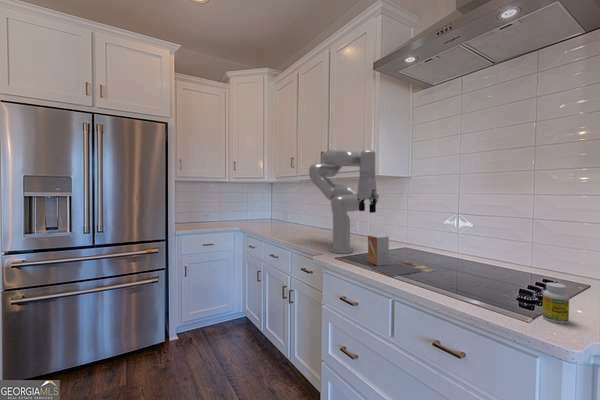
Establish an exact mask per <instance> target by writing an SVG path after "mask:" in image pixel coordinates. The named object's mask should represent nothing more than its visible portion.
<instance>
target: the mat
mask: <svg viewBox="0 0 600 400" xmlns="http://www.w3.org/2000/svg"><path fill="white" fill-rule="evenodd" d="M369 268H370V269H371V268H372V269H371V270H373V269H374V270H373V271H376V270H377V271H376V272H378V271H379V272H378V273H380V272H381V274H384V275H385V276H388V277H391V278H392V277H396V276H395V275H399V276H403V275H404V274H405V275H410V274H411V275H412V274H419V273H421V272H422V271H420V270H417V269H414V267H411V266H407V265H405V264H402V263H401V264H400V263H391V264H390V263H389V265H380V266H377V265H375V266H369Z"/></svg>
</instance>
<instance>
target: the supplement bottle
mask: <svg viewBox="0 0 600 400" xmlns="http://www.w3.org/2000/svg"><path fill="white" fill-rule="evenodd" d="M545 288H546V290H544V291H543V292H542V318H543V319H544V320H546V321H548V322H551V323H556V324H561V325H563V324H565V325H566V324H567V323H569V316H570V314H569V313H570V296H569V294H567V293H566V291H567V287H566V285H565V284H561V283H557V282H546V284H545Z"/></svg>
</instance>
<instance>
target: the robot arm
mask: <svg viewBox="0 0 600 400" xmlns="http://www.w3.org/2000/svg"><path fill="white" fill-rule="evenodd" d="M321 161H322V162H318V163H316V162H315V163H314V164H311V165H310V167H309V170H308V173H309V179H310V180H311V182H312V183H313V184H314V186H316V188H317V189H319V191H320V192H321V193H322V194H323V195H324V197H325V198H326V199H327V200H329V201H330V207H331V211H332V212H331V213H332V242H331V245H332V247H331V248H329V251H330V252H331V253H333V254H340V255H341V254H343V255H345V254H350V253H353V252H354V249H353V248H352V247H351V218H350V216H349V214H348V213H349V212H357V211H359V212H365V210H366V203H365V201H366V200H368V201H369V213H376V212H377V209H376V208H377V207H376V205H377V202H378V201H379V197H380V196H379V194H378V193H377V190H378V189H377V181H376V151H374V150H362V151H350V150H349V151H347V150H346V151H345V150H344V151H343V150H331V149H330V150H329V149H328V150H326V151H324V152H322V155H321ZM342 167H354V168H357V167H359V179H358V182H357V183H358V184H357V191H356V192H355V191H354V190H353V188H351V187H350V186H349V185H346V184H336V183H334V182H333V181H332V180H331V179H330V178H333V177H336V175H337V174H338V173H339V172H340V170H341V169H342Z"/></svg>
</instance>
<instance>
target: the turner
mask: <svg viewBox="0 0 600 400" xmlns="http://www.w3.org/2000/svg"><path fill="white" fill-rule="evenodd" d="M400 263H401V264H403V265H406V266H407V265H408V266H409V267H412V268H413V269H416V270H419V271H421V272H423V273H433V272H436V269H434V268H430V267H428V266H425V265H420V264H416V263H414V262H411V261H407V260H404V259H402V260H400Z"/></svg>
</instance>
